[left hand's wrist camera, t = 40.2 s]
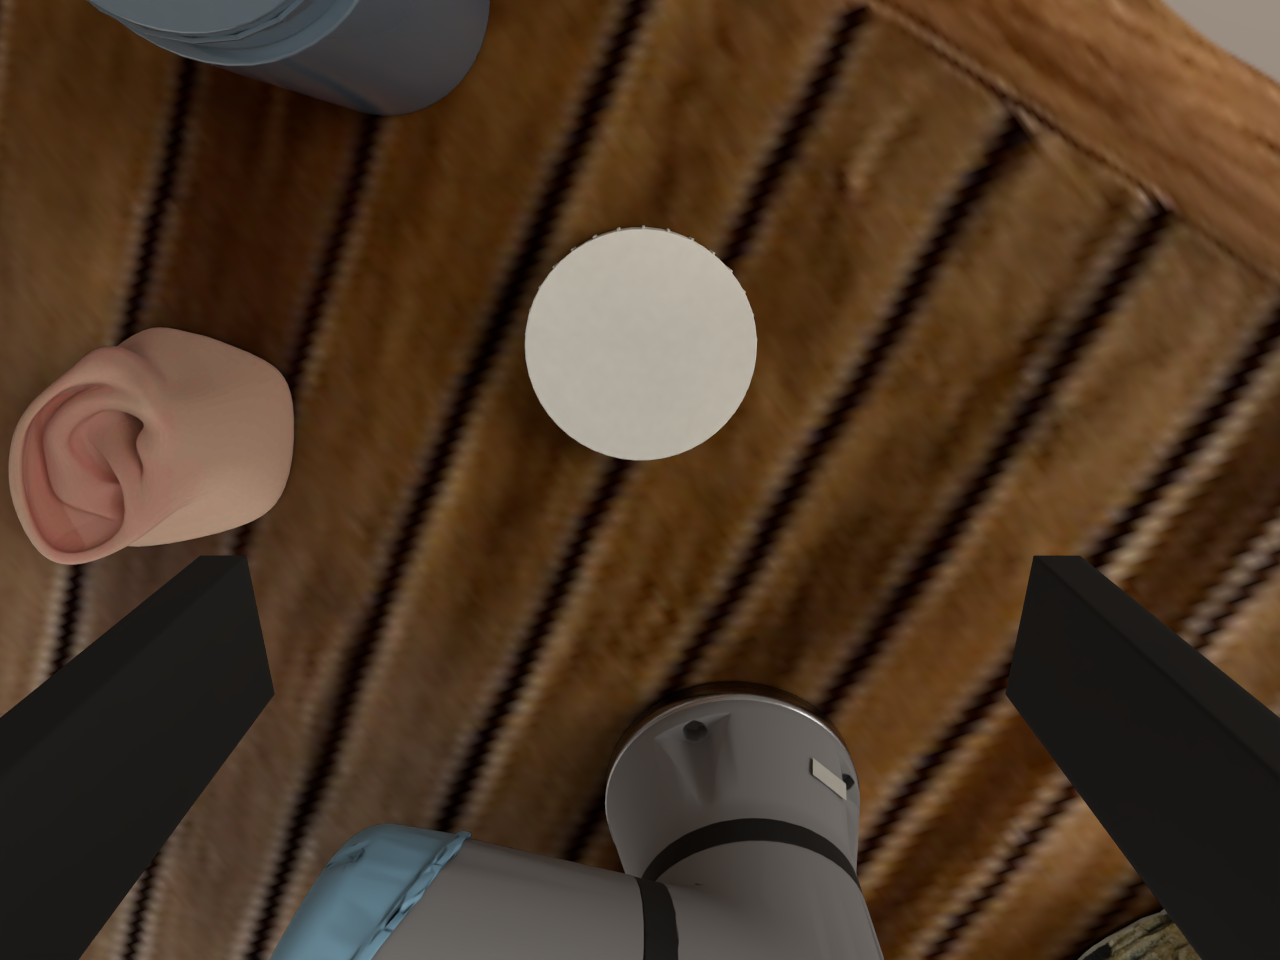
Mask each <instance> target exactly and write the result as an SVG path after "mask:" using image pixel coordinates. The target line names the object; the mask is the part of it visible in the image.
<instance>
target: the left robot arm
mask: <svg viewBox="0 0 1280 960" xmlns="http://www.w3.org/2000/svg"><path fill="white" fill-rule="evenodd" d="M273 695H274V689H273V684H272V679H271V674H270V670H269V665H268V660H267V655H266V650H265V645H264V640H263V635H262V630H261V625H260V621H259V616H258V611H257V606H256V601H255V596H254V591H253V586H252V581H251V576H250V572H249V567H248V562H247V557H246V556H199V557H198V558H197V559H196V560H194V561H193V562H192V563H191V564H189V565H188V566H187V567H186V568H185V569H183V570H182V571H181V572H180V573H178V574H177V575H176V576H175V577H173V578H172V579H171V580H170V581H169V582H167V583H166V584H165V585H164V586H162V587H161V588H160V589H159V590H157V591H156V592H155V593H154V594H152V595H151V596H150V597H149V598H148V599H146V600H145V601H144V602H143V603H141V604H140V605H139V606H138V607H136V608H135V609H134V610H133V611H132V612H130V613H129V614H128V615H127V616H125V617H124V618H123V619H122V620H120V621H119V622H118V623H117V624H115V625H114V626H113V627H112V628H111V629H109V630H108V631H107V632H106V633H104V634H103V635H102V636H101V637H99V638H98V639H97V640H96V641H95V642H93V643H92V644H91V645H90V646H88V647H87V648H86V649H85V650H83V651H82V652H81V653H80V654H79V655H77V656H76V657H75V658H74V659H72V660H71V661H70V662H69V663H67V664H66V665H65V666H64V667H62V668H61V669H60V670H59V671H58V672H56V673H55V674H54V675H53V676H51V677H50V678H49V679H48V680H46V681H45V682H44V683H43V684H42V685H40V686H39V687H38V688H37V689H35V690H34V691H33V692H32V693H30V694H29V695H28V696H27V697H25V698H24V699H23V700H22V701H21V702H19V703H18V704H17V705H16V706H14V707H13V708H12V709H11V710H9V711H8V712H7V713H6V714H5V715H3V716H2V717H1V718H0V960H79V958H80V957H81V955H82V954H83V953H84V951H85V950H86V949H87V947H88V946H89V945H90V943H91V942H92V941H93V939H94V938H95V936H96V935H97V934H98V932H99V931H100V930H101V928H102V927H103V926H104V924H105V923H106V922H107V920H108V919H109V918H110V916H111V915H112V913H113V912H114V911H115V909H116V908H117V907H118V905H119V904H120V903H121V901H122V900H123V899H124V897H125V896H126V895H127V893H128V892H129V890H130V889H131V888H132V886H133V885H134V884H135V882H136V881H137V880H138V878H139V877H140V876H141V874H142V873H143V871H144V870H145V869H146V867H147V866H148V865H149V863H150V862H151V861H152V859H153V858H154V857H155V855H156V854H157V853H158V851H159V850H160V848H161V847H162V846H163V844H164V843H165V842H166V840H167V839H168V838H169V836H170V835H171V834H172V832H173V831H174V830H175V828H176V827H177V825H178V824H179V823H180V821H181V820H182V819H183V817H184V816H185V815H186V813H187V812H188V811H189V809H190V808H191V807H192V805H193V804H194V802H195V801H196V800H197V798H198V797H199V796H200V794H201V793H202V792H203V790H204V789H205V788H206V786H207V785H208V783H209V782H210V781H211V779H212V778H213V777H214V775H215V774H216V773H217V771H218V770H219V769H220V767H221V766H222V765H223V763H224V762H225V760H226V759H227V758H228V756H229V755H230V754H231V752H232V751H233V750H234V748H235V747H236V746H237V744H238V743H239V742H240V740H241V739H242V737H243V736H244V735H245V733H246V732H247V731H248V729H249V728H250V727H251V725H252V724H253V723H254V721H255V720H256V718H257V717H258V716H259V714H260V713H261V712H262V710H263V709H264V708H265V706H266V705H267V704H268V702H269V701H270V700H271V698H272V697H273ZM1006 695H1007V697H1008V698H1009V700H1010V701H1011V702H1012V704H1013V705H1014V706H1015V708H1016V709H1017V710H1018V712H1019V713H1020V714H1021V716H1022V717H1023V718H1024V720H1025V721H1026V723H1027V724H1028V725H1029V727H1030V728H1031V729H1032V731H1033V732H1034V733H1035V735H1036V736H1037V737H1038V739H1039V740H1040V742H1041V743H1042V744H1043V746H1044V747H1045V748H1046V750H1047V751H1048V752H1049V754H1050V755H1051V756H1052V758H1053V759H1054V760H1055V762H1056V763H1057V765H1058V766H1059V767H1060V769H1061V770H1062V771H1063V773H1064V774H1065V775H1066V777H1067V778H1068V779H1069V781H1070V782H1071V783H1072V785H1073V786H1074V788H1075V789H1076V790H1077V792H1078V793H1079V794H1080V796H1081V797H1082V798H1083V800H1084V801H1085V802H1086V804H1087V805H1088V807H1089V808H1090V809H1091V811H1092V812H1093V813H1094V815H1095V816H1096V817H1097V819H1098V820H1099V821H1100V823H1101V824H1102V825H1103V827H1104V828H1105V830H1106V831H1107V832H1108V834H1109V835H1110V836H1111V838H1112V839H1113V840H1114V842H1115V843H1116V844H1117V846H1118V847H1119V848H1120V850H1121V851H1122V853H1123V854H1124V855H1125V857H1126V858H1127V859H1128V861H1129V862H1130V863H1131V865H1132V866H1133V867H1134V869H1135V870H1136V871H1137V873H1138V874H1139V876H1140V877H1141V878H1142V880H1143V881H1144V882H1145V884H1146V885H1147V886H1148V888H1149V889H1150V890H1151V892H1152V893H1153V895H1154V896H1155V897H1156V899H1157V900H1158V901H1159V903H1160V904H1161V905H1162V907H1163V908H1164V909H1165V911H1166V912H1167V913H1168V915H1169V916H1170V918H1171V919H1172V920H1173V922H1174V923H1175V924H1176V926H1177V927H1178V928H1179V930H1180V931H1181V932H1182V934H1183V935H1184V936H1185V938H1186V939H1187V941H1188V942H1189V943H1190V945H1191V946H1192V947H1193V949H1194V950H1195V951H1196V953H1197V954H1198V955H1199V957H1200V958H1201V960H1280V718H1279V717H1278V716H1277V715H1275V714H1274V713H1273V712H1272V711H1271V710H1269V709H1268V708H1267V707H1266V706H1264V705H1263V704H1262V703H1261V702H1259V701H1258V700H1257V699H1256V698H1255V697H1253V696H1252V695H1251V694H1250V693H1248V692H1247V691H1246V690H1245V689H1243V688H1242V687H1241V686H1240V685H1238V684H1237V683H1236V682H1235V681H1234V680H1232V679H1231V678H1230V677H1229V676H1227V675H1226V674H1225V673H1224V672H1222V671H1221V670H1220V669H1219V668H1218V667H1216V666H1215V665H1214V664H1213V663H1211V662H1210V661H1209V660H1208V659H1206V658H1205V657H1204V656H1203V655H1201V654H1200V653H1199V652H1198V651H1197V650H1195V649H1194V648H1193V647H1192V646H1190V645H1189V644H1188V643H1187V642H1185V641H1184V640H1183V639H1182V638H1181V637H1179V636H1178V635H1177V634H1176V633H1174V632H1173V631H1172V630H1171V629H1169V628H1168V627H1167V626H1166V625H1164V624H1163V623H1162V622H1161V621H1160V620H1158V619H1157V618H1156V617H1155V616H1153V615H1152V614H1151V613H1150V612H1148V611H1147V610H1146V609H1145V608H1144V607H1142V606H1141V605H1140V604H1139V603H1137V602H1136V601H1135V600H1134V599H1132V598H1131V597H1130V596H1129V595H1128V594H1126V593H1125V592H1124V591H1123V590H1121V589H1120V588H1119V587H1118V586H1116V585H1115V584H1114V583H1113V582H1111V581H1110V580H1109V579H1108V578H1107V577H1105V576H1104V575H1103V574H1102V573H1100V572H1099V571H1098V570H1097V569H1095V568H1094V567H1093V566H1092V565H1091V564H1089V563H1088V562H1087V561H1086V560H1084V559H1083V558H1082V557H1081V556H1034V557H1033V562H1032V567H1031V572H1030V576H1029V581H1028V586H1027V591H1026V596H1025V601H1024V606H1023V611H1022V616H1021V621H1020V625H1019V630H1018V635H1017V640H1016V645H1015V650H1014V655H1013V660H1012V665H1011V670H1010V674H1009V679H1008V684H1007V689H1006ZM605 807H606V816H607V821H608V825H609V829H610V833H611V836H612V839H613V841H614V843H615V845H616V847H617V851H618V854H619V857H620V859H621V862H622V865H623V868H624V871H625V874H624V873H620V872H615V871H611V870H607V869H602V868H598V867H593V866H589V865H585V864H580V863H576V862H571V861H567V860H563V859H558V858H554V857H549V856H545V855H541V854H536V853H532V852H527V851H523V850H519V849H514V848H510V847H505V846H501V845H497V844H492V843H488V842H483V841H479V840H475V839H470V837H471V832H467V831H460V832H458V833H456V834H452V833H446V832H440V831H434V830H428V829H422V828H417V827H411V826H405V825H399V824H389V823H386V824H378V825H374V826H371V827H368V828H366V829H364V830H362V831H360V832H359V833H357V834H356V835H354V836H353V837H352V838H350V839H349V840H348V841H347V842H346V843H345V844H344V845H343V846H342V847H341V848H340V849H339V850H338V851H337V853H336V854H335V855H334V856H333V857H332V859H331V860H330V861H329V862H328V864H327V865H326V867H325V868H324V869H323V871H322V872H321V874H320V875H319V877H318V878H317V880H316V881H315V883H314V884H313V886H312V887H311V889H310V890H309V892H308V894H307V895H306V897H305V898H304V900H303V902H302V903H301V905H300V907H299V908H298V910H297V912H296V913H295V915H294V917H293V918H292V920H291V922H290V924H289V925H288V927H287V929H286V931H285V933H284V934H283V936H282V938H281V940H280V941H279V943H278V945H277V947H276V949H275V950H274V952H273V954H272V956H271V958H270V960H884V958H883V955H882V952H881V949H880V946H879V943H878V939H877V936H876V933H875V930H874V927H873V924H872V921H871V918H870V915H869V912H868V909H867V906H866V903H865V900H864V897H863V894H862V891H861V888H860V885H859V881H858V878H857V875H856V866H857V848H858V831H859V813H860V794H859V782H858V777H857V773H856V770H855V767H854V764H853V761H852V759H851V756H850V753H849V751H848V748H847V746H846V744H845V741H844V739H843V738H842V736H841V734H840V733H839V731H838V730H837V728H836V727H835V726H834V724H833V723H832V722H831V721H830V720H829V719H828V718H827V717H826V716H825V715H824V714H823V713H822V712H821V711H820V710H818V709H817V708H816V707H814V706H813V705H811V704H810V703H808V702H807V701H805V700H803V699H802V698H800V697H798V696H796V695H794V694H791V693H789V692H786V691H784V690H781V689H777V688H774V687H770V686H766V685H761V684H754V683H742V682H726V683H715V684H708V685H703V686H698V687H695V688H691V689H688V690H685V691H682V692H679V693H677V694H674V695H672V696H670V697H668V698H666V699H664V700H662V701H660V702H659V703H657V704H655V705H654V706H652V707H651V708H649V709H648V710H647V711H645V712H644V713H643V714H642V715H641V716H639V717H638V718H637V719H636V720H635V721H634V722H633V723H632V724H631V725H630V726H629V728H628V729H627V730H626V731H625V733H624V734H623V735H622V737H621V738H620V740H619V742H618V743H617V745H616V747H615V749H614V751H613V754H612V756H611V759H610V762H609V766H608V771H607V781H606V799H605Z"/></svg>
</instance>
